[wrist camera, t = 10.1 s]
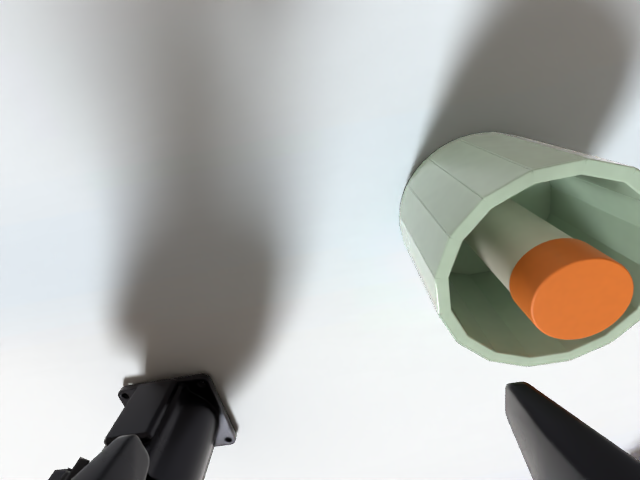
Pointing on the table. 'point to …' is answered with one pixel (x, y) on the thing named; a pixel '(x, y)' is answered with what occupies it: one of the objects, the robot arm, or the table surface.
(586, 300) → the glue stick
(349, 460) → the table surface
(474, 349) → the pen holder
